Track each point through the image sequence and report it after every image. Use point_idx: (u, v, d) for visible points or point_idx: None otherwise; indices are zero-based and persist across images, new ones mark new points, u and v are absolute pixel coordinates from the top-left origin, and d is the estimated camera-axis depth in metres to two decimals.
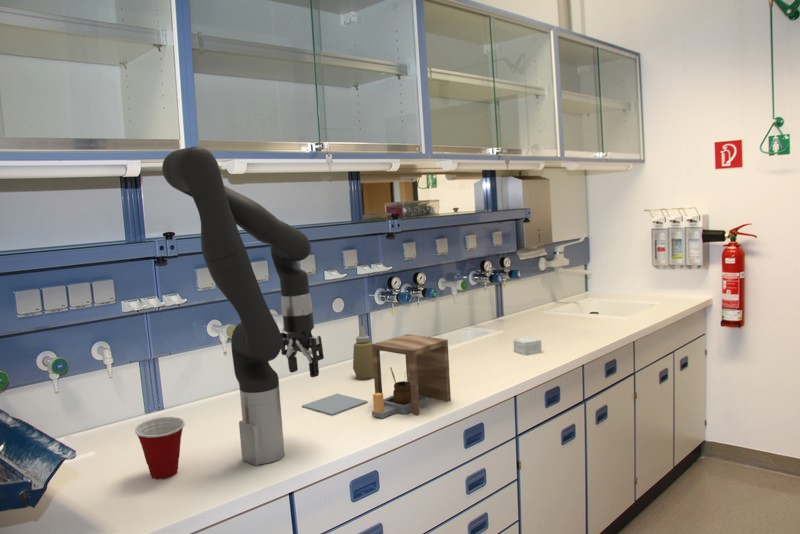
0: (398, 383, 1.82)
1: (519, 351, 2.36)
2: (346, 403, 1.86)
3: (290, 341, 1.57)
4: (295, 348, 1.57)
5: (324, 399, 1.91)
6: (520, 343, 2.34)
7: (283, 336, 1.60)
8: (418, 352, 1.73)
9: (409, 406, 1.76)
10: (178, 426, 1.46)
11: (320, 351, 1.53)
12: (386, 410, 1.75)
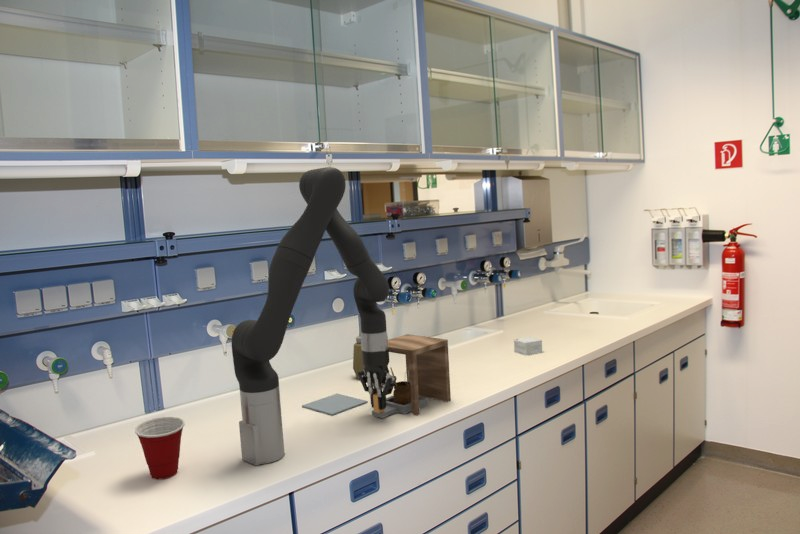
0: (398, 383, 1.82)
1: (520, 352, 2.35)
2: (346, 403, 1.86)
3: (368, 374, 1.72)
4: (374, 379, 1.72)
5: (324, 399, 1.91)
6: (521, 343, 2.34)
7: (361, 374, 1.76)
8: (418, 352, 1.73)
9: (409, 406, 1.76)
10: (178, 426, 1.46)
11: (390, 388, 1.71)
12: (386, 410, 1.75)
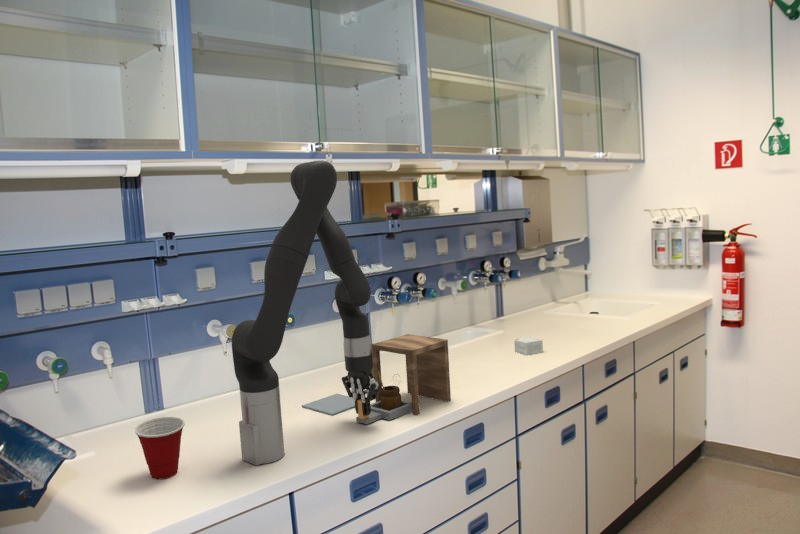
0: (386, 387, 1.79)
1: (520, 352, 2.35)
2: (346, 403, 1.86)
3: (351, 380, 1.68)
4: (358, 385, 1.68)
5: (324, 399, 1.91)
6: (522, 343, 2.34)
7: (345, 379, 1.71)
8: (418, 352, 1.73)
9: (394, 412, 1.71)
10: (178, 426, 1.46)
11: (375, 394, 1.66)
12: (371, 416, 1.70)
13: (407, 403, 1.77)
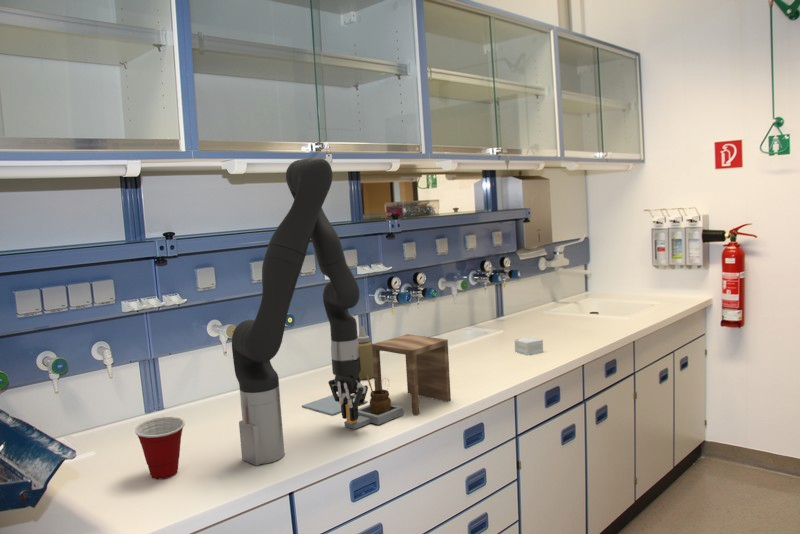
0: (375, 391, 1.75)
1: (521, 352, 2.35)
2: None
3: (338, 384, 1.65)
4: (345, 389, 1.64)
5: (324, 399, 1.91)
6: (522, 343, 2.34)
7: (332, 383, 1.68)
8: (418, 352, 1.73)
9: (383, 416, 1.68)
10: (178, 426, 1.46)
11: None
12: (360, 420, 1.67)
13: (397, 407, 1.74)
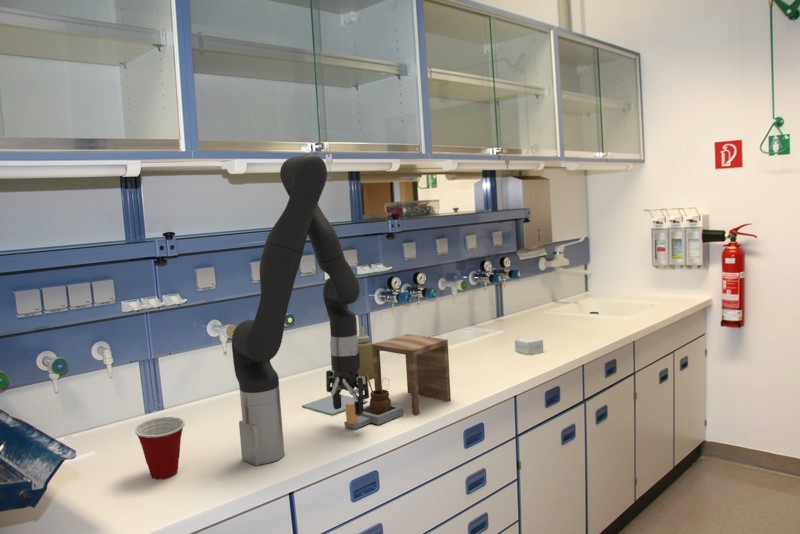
0: (375, 391, 1.75)
1: (521, 352, 2.35)
2: (346, 403, 1.86)
3: (337, 379, 1.64)
4: (341, 386, 1.65)
5: (324, 399, 1.91)
6: (523, 343, 2.34)
7: (329, 374, 1.68)
8: (418, 352, 1.73)
9: (383, 416, 1.68)
10: (178, 426, 1.46)
11: (366, 390, 1.61)
12: (360, 420, 1.67)
13: (397, 407, 1.74)
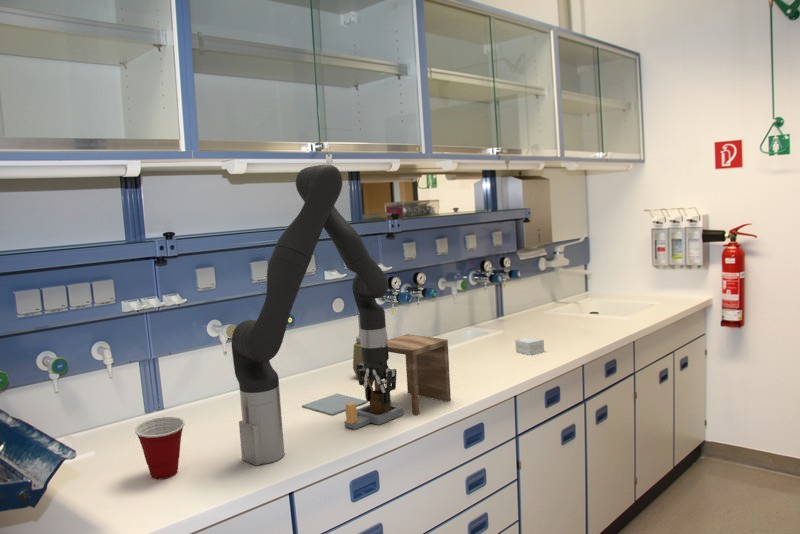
0: (375, 391, 1.75)
1: (522, 352, 2.35)
2: (346, 403, 1.86)
3: (367, 370, 1.72)
4: (372, 377, 1.72)
5: (324, 399, 1.91)
6: (524, 343, 2.34)
7: (359, 367, 1.76)
8: (418, 352, 1.73)
9: (384, 416, 1.68)
10: (178, 426, 1.46)
11: (393, 382, 1.69)
12: (360, 420, 1.67)
13: (397, 407, 1.74)
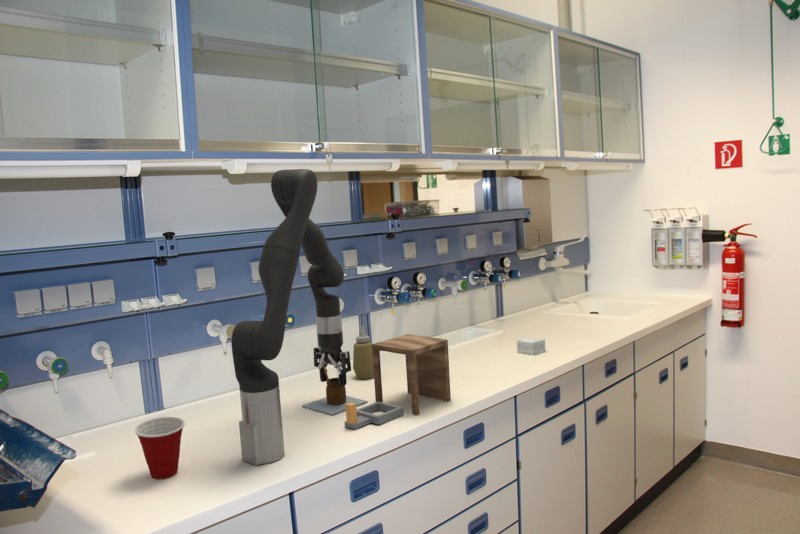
0: (331, 379, 1.89)
1: (525, 352, 2.34)
2: (346, 403, 1.86)
3: (322, 355, 1.85)
4: (326, 361, 1.86)
5: (324, 399, 1.91)
6: (526, 343, 2.33)
7: (316, 351, 1.89)
8: (418, 352, 1.73)
9: (384, 416, 1.68)
10: (178, 426, 1.46)
11: (348, 364, 1.82)
12: (360, 420, 1.67)
13: (397, 407, 1.74)
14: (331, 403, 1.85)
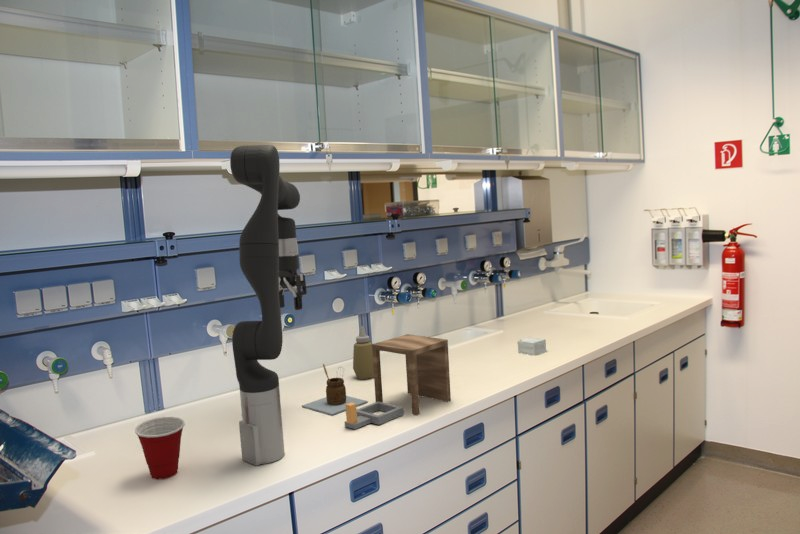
0: (331, 379, 1.89)
1: (526, 352, 2.34)
2: (346, 403, 1.86)
3: (278, 279, 1.83)
4: (282, 285, 1.83)
5: (324, 399, 1.91)
6: (528, 343, 2.33)
7: None
8: (418, 352, 1.73)
9: (384, 416, 1.68)
10: (178, 426, 1.46)
11: (304, 287, 1.79)
12: (360, 420, 1.67)
13: (397, 407, 1.74)
14: (331, 403, 1.85)
